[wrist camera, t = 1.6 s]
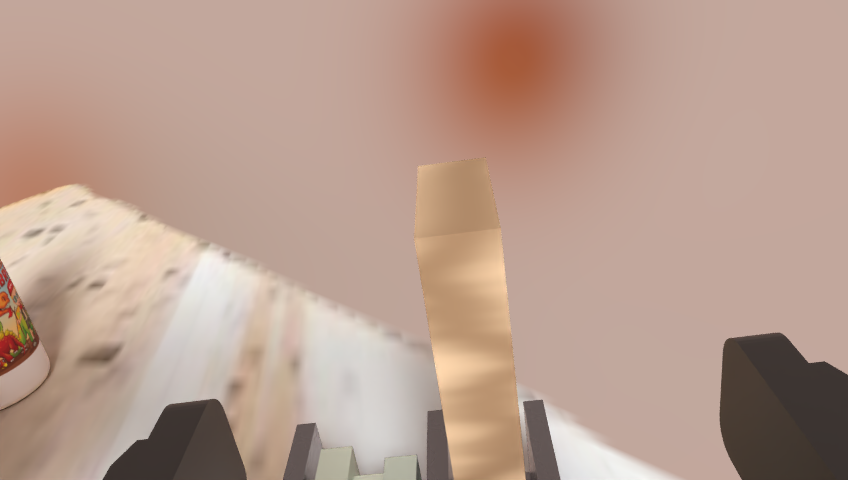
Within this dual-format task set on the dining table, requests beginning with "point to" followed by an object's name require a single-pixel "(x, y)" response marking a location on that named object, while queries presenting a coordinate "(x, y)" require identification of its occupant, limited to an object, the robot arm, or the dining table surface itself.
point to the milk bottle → (18, 347)
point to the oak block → (469, 318)
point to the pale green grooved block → (341, 471)
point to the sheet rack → (435, 448)
